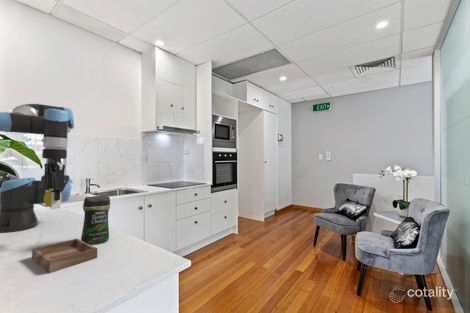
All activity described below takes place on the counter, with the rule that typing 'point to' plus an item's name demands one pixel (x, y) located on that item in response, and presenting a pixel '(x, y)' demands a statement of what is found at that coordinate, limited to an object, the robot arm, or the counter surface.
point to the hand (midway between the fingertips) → (52, 207)
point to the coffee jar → (96, 220)
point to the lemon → (48, 197)
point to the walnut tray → (63, 254)
